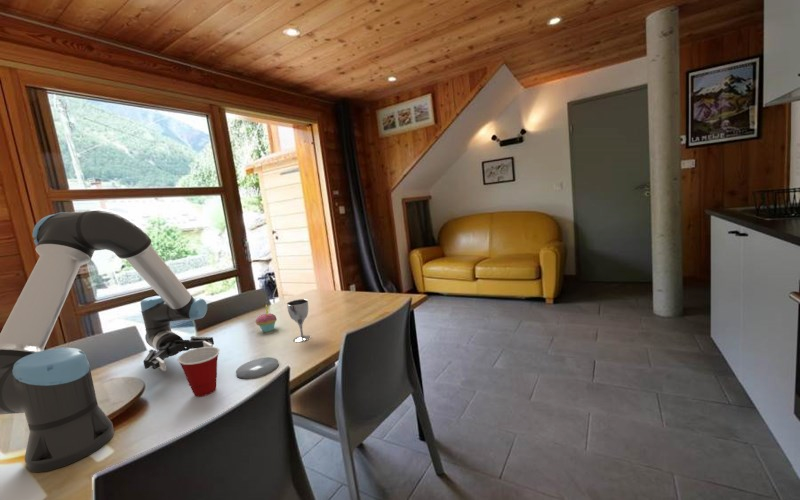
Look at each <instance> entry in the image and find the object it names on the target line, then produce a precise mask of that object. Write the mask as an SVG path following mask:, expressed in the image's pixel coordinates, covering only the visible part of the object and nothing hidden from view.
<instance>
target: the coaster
mask: <svg viewBox="0 0 800 500" xmlns="http://www.w3.org/2000/svg"><path fill="white" fill-rule="evenodd" d="M278 367H279V360H278V359H277V358H275V357H261V358H256V359H255V358H254V359H252V360H250V361H247V362H245V363H243V364H241V365H240V366H238V368H237V369H236V370H235V375H236V378H239V379H243V380H249V379H256V378H259V377H263V376H266V375H268V374H271V373H272V372H273V371H275V370H276V369H277V368H278Z"/></svg>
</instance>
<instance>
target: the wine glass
mask: <svg viewBox="0 0 800 500" xmlns="http://www.w3.org/2000/svg"><path fill="white" fill-rule="evenodd" d="M286 308H287V312H288V315H289V317H290V319H291V320H292V321H294V322H295V323H297V325H298V327H299V330H300V336H299V335H298V336H297V337H295V338H294V339H293V342H294V343H304V342H303V341H305V340H307V339H309V338H310V336H311V335H309V334H304V331H303V324H304V322H305V321H306V318H307V317H308V316H309V300H308V299H306V298H300V299H294V300H290V301H289V302H287V303H286ZM305 342H306V341H305Z"/></svg>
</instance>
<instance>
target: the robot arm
mask: <svg viewBox="0 0 800 500" xmlns="http://www.w3.org/2000/svg"><path fill="white" fill-rule="evenodd" d="M32 229H33V231H32V238H34V240H33V243H34V244H35V251H36V253H37V254H38V256H39V257H38V259H37V262H36V264H35V265H34V267H33V269H32V271H31V272H30V275H29V276H28V278H27V281H26V283H25V285H24V287H23V288H22V291H21V292H20V295H19V296H18V298H17V300H16V302H15V303H14V305H13V308H12V309H11V311H10V314H9V316H8V318H7V320H6V321H5V323H4V325H3V328H2V330H1V332H0V415H12V414H14V415H15V414H24V416H25V420H26V423H27V427H28V430H29V434H28V438H27V443H26V451H25V453H24V462H25V466H26V469H27V470H28V471H29V472H31V473H32V472H33V473H43V472H49V471H53V470H56V469H60V468H63V467H65V466H68V465H71V464H73V463H75V462H77V461H80V460H82V459H83V458H86V457H88V456H89V455H91V454H93V453H94V452H96V451H98V450H99V449H101V448H102V447H103V446H104V445H106V444H107V443H108V442H109V441H110V440H111V439H112V437H113V436H114V433H115V429H114V425H113V422H112V420H110V418H109V417H108V416H107V415H106V413H105V412H104V411H103V410H102V408H101V407H100V406H99V404H98V399H97V396H96V395H97V394H96V390H95V385H94V381H93V376H92V371H91V366H90V363H89V361H88V359H87V355H86V353H85V352H84V351H83V350H81V349H80V348H76V347H56V348H53V349H46V350H45V347H46V345H47V342H48V341H49V339H50V336H51V333H52V332H53V330H54V327H55V325H56V322H57V320H58V318H59V316H60V314H61V311H62V308H63V306H64V305H65V302H66V299H67V297H68V296H69V293H70V290H71V289H72V287H73V284H74V282H75V279H76V277H77V275H78V272H80V271H79V270H80V268H81V266H84V265H86V264H89V263H90V262H91V260H92V257H93V255H94V252H95V251H100V250H101V251H102V250H108V251H111V252H112V253H114V254H115V255H116V256H117V257H118V258H119V259H124V260H126V261H127V262H128V264H129V265H130V266H131V267H132V268H133V269H134V270H135V271H136V272H137V273H138V275H139V276H140V277H141V278H143V280H144V281H145V282H146V283H147V284H148V285H149V286H150V288H152V290H153V291H154V292H155V293H156V294H157V295H154V296H149V297H146V298H144V299H141V300H140V309H141V314H142V315H141V316H142V318H143V324H144V328H145V336H144V338H145V341H146V343H147V344H148V345H149V347H151V348H153V349H150V350H149V351H148V352H149V353H148V354H147V355H146V357H145V358H144V359H143V367H144V369H149V368H150V367H152V369H153V370H156V369H157V368H159V369H160V370H161V371H163V372H166V371H167V367H166V362H165V361H164V360H165V359H167V358H169V357H174V356H177V354H179V353H181V352H187V351H190V350H193V349H197V348H202V347H214V346H213V345H215V341H214V336H212V337H211V336H209V337H208V336H206V337H205V336H194V335H193V336H190V338H189V339H183V337H182V336H181V335H179V334H177V333H175V332H174V331H172V327H171V322H181V321H182V322H183V321H194V320H199V319H203V318H204V317H205V316H206V313H207V311H208V304H207V301H206V300H205V299H204V298H198V297H197V298H195V297H193V295H191V292H190V291H188V288H186V287H185V286H184V284H183V283H182V282H181V281H180V279H179V278H178V277H177V276H176V274H175V273H174V272H173V271H172V269H170V267H169V266H168V265H167V263H166V262H165V261H164V260H163V258H162V257H161V256H160V255H159V253H158V252H157V251H156V250H155V248H154V247H153V246H152V242H153V241H152V239H151V237H150V236H149V235H148V233H146V231H145V230H144V229H143V228H142V227H140V226H139V225H138V224H137V223H136V222H134V221H133V220H132V219H130V218H128V217H127V216H125V215H124V214H121V213H119V212H116V211H115V210H111V209H105V208H96V209H87V210H79V211H77V210H76V211H70V212H69V211H61V212H58V213H54V214H49V215H46V216H44V217H42V218H41V219H39V220H38V221H37V223H36V224H35V225H34V227H33V228H32Z"/></svg>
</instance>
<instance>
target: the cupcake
mask: <svg viewBox="0 0 800 500" xmlns="http://www.w3.org/2000/svg"><path fill="white" fill-rule="evenodd" d="M276 322H277V316H276V314H273V313H271V312H270V313H269V312H268V304H267V303H266V305H265V313H263V314H260V315H259V316H258V317H257V318H256V320H255V324H256V325H258V327H260V329H261V331H262V332H264V333H267V332H271V331H273V330H275V329H274V328H275V325H276Z"/></svg>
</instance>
